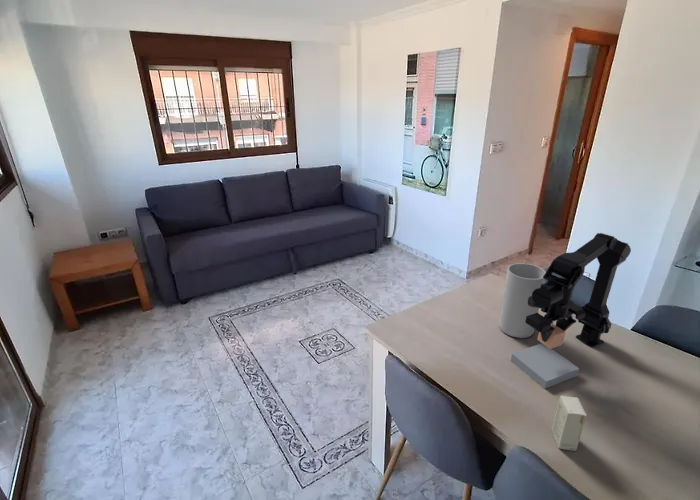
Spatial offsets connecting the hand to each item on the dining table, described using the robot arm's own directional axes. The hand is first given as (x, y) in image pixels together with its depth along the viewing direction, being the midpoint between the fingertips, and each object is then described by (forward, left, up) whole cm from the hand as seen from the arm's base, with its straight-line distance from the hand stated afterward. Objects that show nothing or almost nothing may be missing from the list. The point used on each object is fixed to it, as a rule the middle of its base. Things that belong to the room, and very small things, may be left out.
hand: (550, 338), depth 116 cm
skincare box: (+17, +22, -12) cm, 30 cm away
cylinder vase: (-8, -20, -12) cm, 25 cm away
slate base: (0, 0, -12) cm, 12 cm away
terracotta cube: (0, 0, -1) cm, 1 cm away
